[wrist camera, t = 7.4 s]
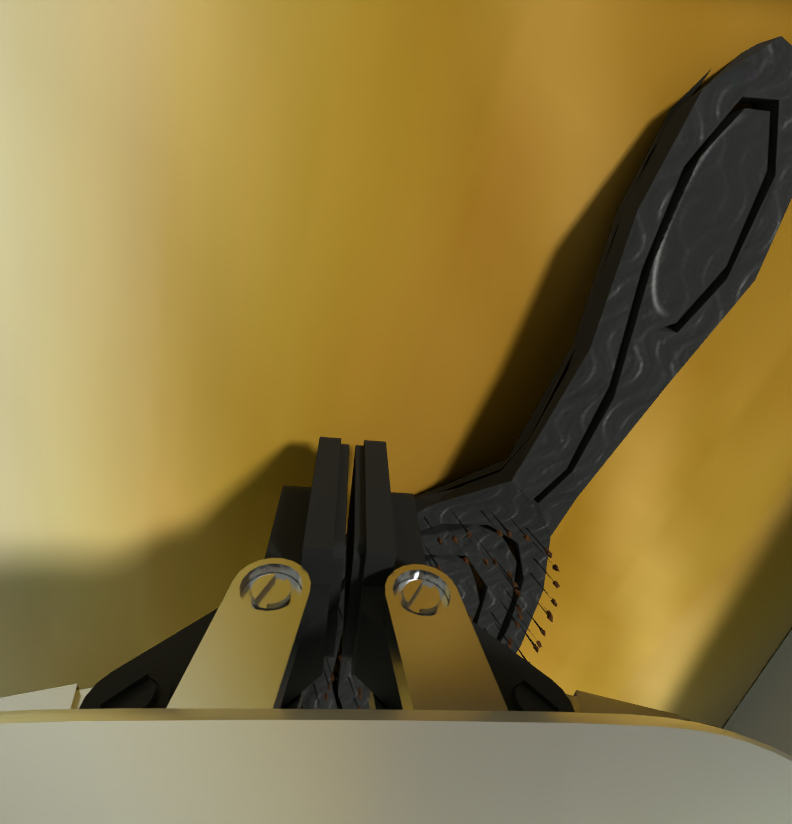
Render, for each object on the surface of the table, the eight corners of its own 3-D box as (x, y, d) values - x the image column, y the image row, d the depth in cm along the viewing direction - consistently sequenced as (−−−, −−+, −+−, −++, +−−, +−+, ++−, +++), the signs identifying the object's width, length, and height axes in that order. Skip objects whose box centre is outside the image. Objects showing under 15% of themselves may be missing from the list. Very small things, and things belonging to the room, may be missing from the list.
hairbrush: (1059, 138, 8) (431, 879, 16) (855, 158, 12) (417, 764, 20) (710, -166, 6) (192, 847, 14) (585, -36, 10) (223, 726, 18)
